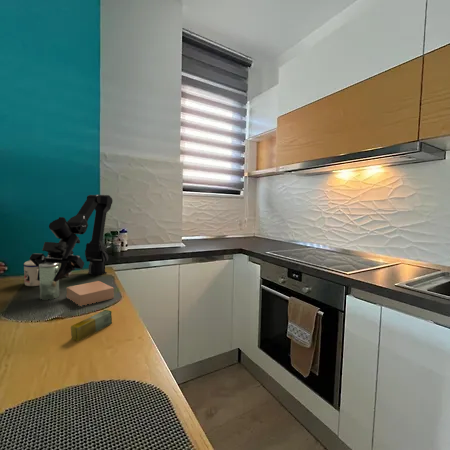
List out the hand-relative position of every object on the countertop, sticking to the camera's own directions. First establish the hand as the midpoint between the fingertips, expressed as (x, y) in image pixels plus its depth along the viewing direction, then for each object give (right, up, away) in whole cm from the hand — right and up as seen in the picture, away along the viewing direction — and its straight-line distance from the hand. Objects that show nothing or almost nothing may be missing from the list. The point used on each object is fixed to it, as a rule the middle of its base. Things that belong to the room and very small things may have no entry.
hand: (46, 280), depth 100 cm
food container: (-13, -4, +32) cm, 35 cm away
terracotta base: (+15, -7, +2) cm, 16 cm away
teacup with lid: (-14, -5, +16) cm, 22 cm away
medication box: (+28, -10, -22) cm, 37 cm away
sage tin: (0, -6, +2) cm, 7 cm away
